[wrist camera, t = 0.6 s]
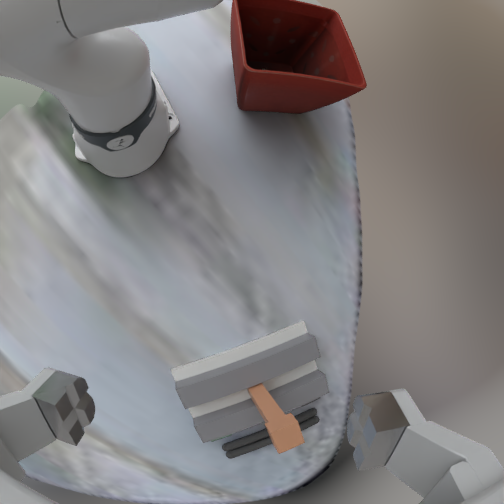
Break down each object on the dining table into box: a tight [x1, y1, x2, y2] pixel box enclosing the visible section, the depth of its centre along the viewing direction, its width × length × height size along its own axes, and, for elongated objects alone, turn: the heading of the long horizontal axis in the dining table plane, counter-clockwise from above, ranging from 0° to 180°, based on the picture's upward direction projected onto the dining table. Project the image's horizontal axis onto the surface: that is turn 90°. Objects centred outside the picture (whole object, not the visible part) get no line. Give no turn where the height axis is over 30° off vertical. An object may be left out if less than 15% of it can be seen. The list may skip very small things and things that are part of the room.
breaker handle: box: [247, 383, 305, 454], centre depth 37 cm, size 4×4×16 cm
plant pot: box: [231, 0, 367, 114], centre depth 41 cm, size 19×19×17 cm
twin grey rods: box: [222, 408, 319, 458], centre depth 46 cm, size 4×20×2 cm, turn 108°
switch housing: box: [171, 321, 329, 443], centre depth 45 cm, size 16×24×4 cm
